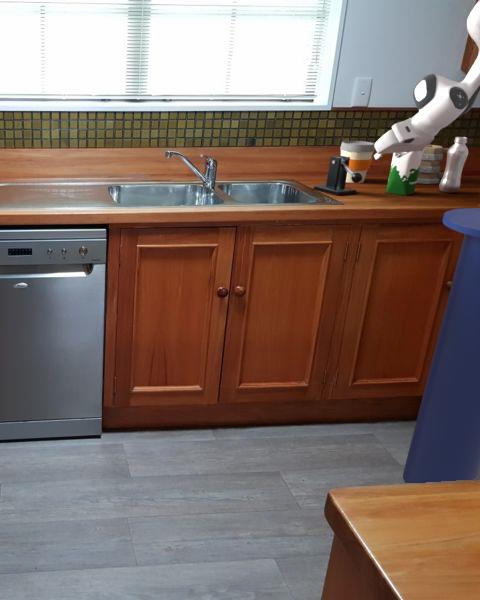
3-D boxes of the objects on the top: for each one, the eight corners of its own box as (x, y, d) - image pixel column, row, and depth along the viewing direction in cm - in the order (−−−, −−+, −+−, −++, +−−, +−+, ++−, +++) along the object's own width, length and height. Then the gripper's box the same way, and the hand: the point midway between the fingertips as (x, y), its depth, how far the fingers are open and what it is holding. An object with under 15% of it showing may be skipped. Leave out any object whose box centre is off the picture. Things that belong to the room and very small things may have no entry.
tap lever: (361, 184, 217) (366, 176, 215) (353, 185, 216) (358, 176, 214) (338, 163, 225) (343, 155, 223) (331, 163, 224) (335, 155, 222)
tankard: (404, 182, 243) (412, 144, 238) (401, 177, 254) (409, 140, 248) (461, 186, 236) (470, 147, 231) (456, 181, 247) (465, 143, 241)
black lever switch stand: (356, 193, 223) (362, 158, 219) (337, 195, 220) (343, 159, 215) (331, 187, 234) (337, 153, 229) (313, 189, 230) (318, 154, 225)
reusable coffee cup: (328, 178, 251) (334, 141, 245) (356, 177, 253) (363, 140, 247) (346, 184, 239) (353, 145, 233) (375, 183, 241) (382, 144, 236)
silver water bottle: (442, 189, 231) (454, 135, 224) (461, 192, 226) (475, 137, 219) (434, 191, 227) (447, 137, 220) (454, 194, 223) (468, 139, 215)
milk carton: (407, 196, 219) (419, 139, 212) (382, 192, 226) (393, 137, 218) (417, 193, 225) (429, 137, 217) (392, 189, 231) (403, 135, 224)
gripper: (436, 121, 197) (404, 147, 209) (391, 123, 189) (360, 150, 201) (445, 137, 195) (412, 163, 207) (399, 140, 187) (368, 166, 199)
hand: (386, 157), depth 204 cm, fingers open, 8 cm apart
